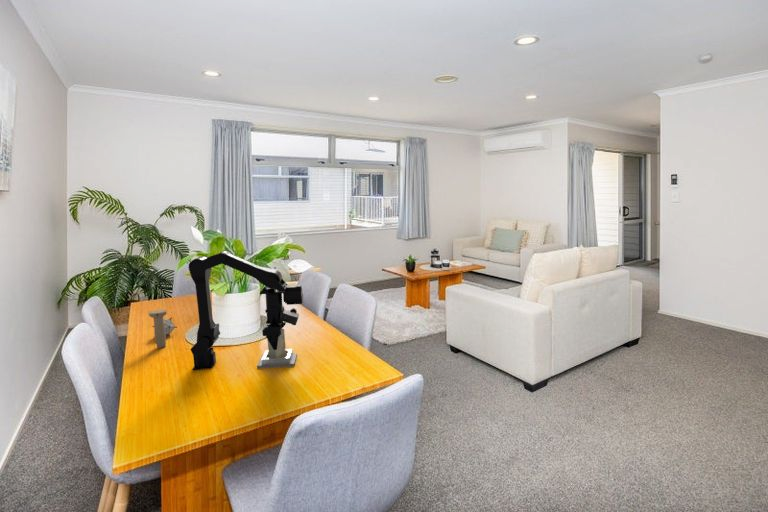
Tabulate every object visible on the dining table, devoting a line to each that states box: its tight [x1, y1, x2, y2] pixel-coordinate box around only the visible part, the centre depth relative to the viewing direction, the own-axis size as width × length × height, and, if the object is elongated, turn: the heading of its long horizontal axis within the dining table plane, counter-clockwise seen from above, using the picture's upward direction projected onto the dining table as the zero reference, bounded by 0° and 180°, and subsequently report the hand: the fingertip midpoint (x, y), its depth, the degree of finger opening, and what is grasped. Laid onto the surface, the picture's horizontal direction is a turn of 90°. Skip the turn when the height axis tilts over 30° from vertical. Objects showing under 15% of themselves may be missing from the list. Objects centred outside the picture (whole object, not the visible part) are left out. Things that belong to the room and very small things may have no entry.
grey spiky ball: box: [151, 317, 178, 337], centre depth 187 cm, size 9×8×10 cm
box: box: [267, 328, 287, 358], centre depth 155 cm, size 5×4×11 cm
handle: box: [148, 309, 168, 349], centre depth 172 cm, size 5×6×15 cm
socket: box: [256, 348, 298, 369], centre depth 156 cm, size 13×10×3 cm
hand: (276, 346), depth 155 cm, fingers closed on box, 6 cm apart
